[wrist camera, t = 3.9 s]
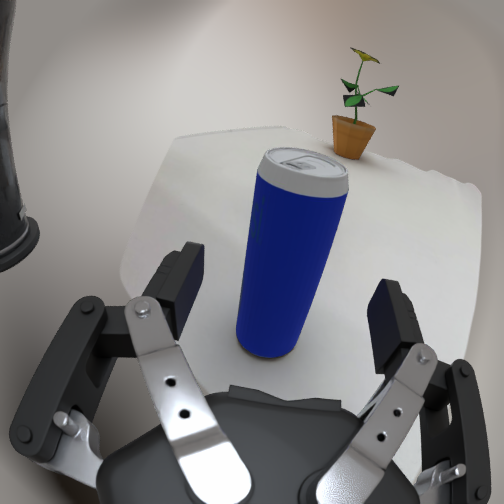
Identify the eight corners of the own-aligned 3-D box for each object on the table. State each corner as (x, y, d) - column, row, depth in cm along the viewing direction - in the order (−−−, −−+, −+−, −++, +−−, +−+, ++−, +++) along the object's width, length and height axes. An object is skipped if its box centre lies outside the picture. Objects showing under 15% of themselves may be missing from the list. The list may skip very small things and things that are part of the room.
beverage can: (266, 305, 27) (300, 143, 18) (308, 339, 24) (368, 172, 15) (222, 331, 24) (239, 150, 15) (265, 373, 21) (317, 186, 12)
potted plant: (361, 171, 65) (387, 54, 47) (302, 145, 75) (321, 42, 58) (388, 165, 75) (411, 70, 58) (337, 143, 86) (354, 55, 68)
